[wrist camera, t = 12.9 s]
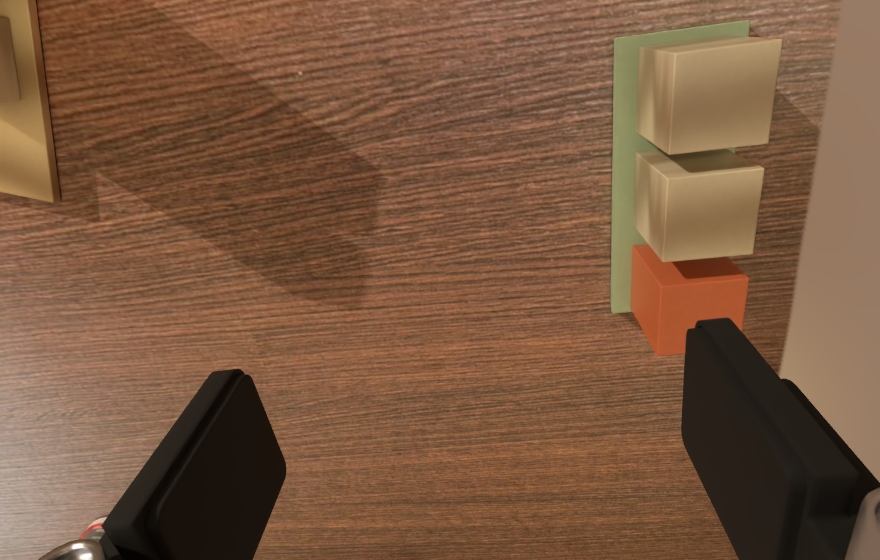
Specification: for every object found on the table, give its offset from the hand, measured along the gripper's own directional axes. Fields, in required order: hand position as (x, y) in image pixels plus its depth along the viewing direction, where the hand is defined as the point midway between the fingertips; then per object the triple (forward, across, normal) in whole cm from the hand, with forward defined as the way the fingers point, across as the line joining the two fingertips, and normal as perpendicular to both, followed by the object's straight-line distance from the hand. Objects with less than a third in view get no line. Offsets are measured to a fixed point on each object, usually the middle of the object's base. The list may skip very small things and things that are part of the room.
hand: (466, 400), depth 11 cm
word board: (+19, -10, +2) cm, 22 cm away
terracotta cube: (+19, -10, +8) cm, 23 cm away
